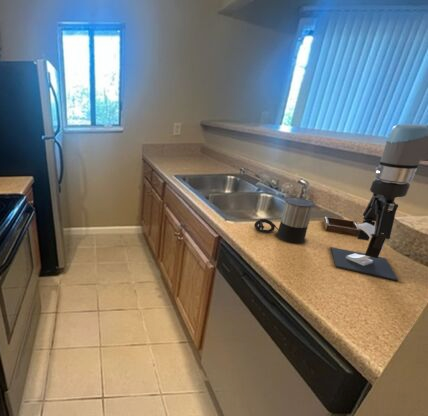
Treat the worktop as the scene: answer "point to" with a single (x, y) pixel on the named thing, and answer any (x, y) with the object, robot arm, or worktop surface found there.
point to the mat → (374, 269)
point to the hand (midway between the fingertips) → (366, 247)
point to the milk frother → (291, 220)
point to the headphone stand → (357, 257)
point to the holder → (339, 229)
